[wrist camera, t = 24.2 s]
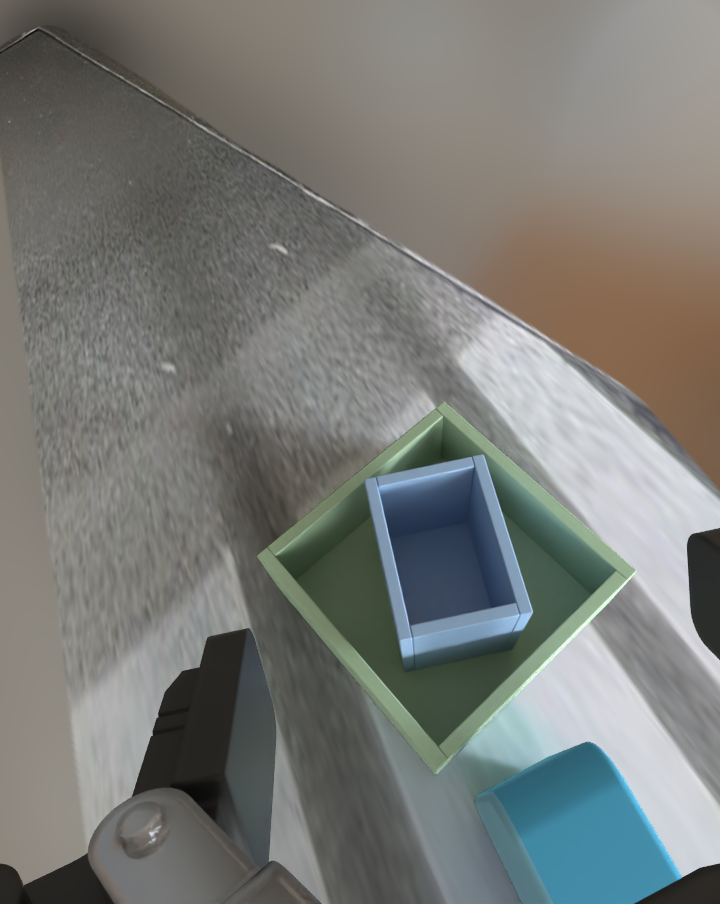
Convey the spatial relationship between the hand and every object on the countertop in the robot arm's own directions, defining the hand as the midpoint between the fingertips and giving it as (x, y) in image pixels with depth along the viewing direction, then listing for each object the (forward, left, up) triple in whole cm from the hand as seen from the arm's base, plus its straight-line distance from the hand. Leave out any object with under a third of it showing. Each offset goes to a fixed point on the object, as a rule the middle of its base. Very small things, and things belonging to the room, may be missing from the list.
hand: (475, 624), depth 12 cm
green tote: (+5, +6, -27) cm, 28 cm away
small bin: (+5, +6, -26) cm, 27 cm away
